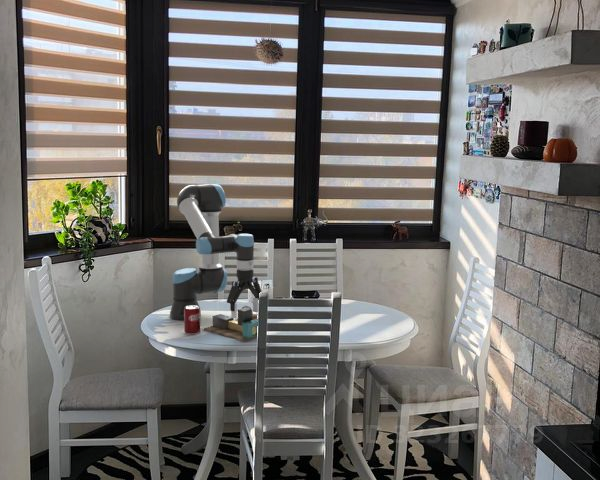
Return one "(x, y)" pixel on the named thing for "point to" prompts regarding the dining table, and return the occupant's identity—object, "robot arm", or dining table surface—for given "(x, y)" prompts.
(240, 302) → the dining table surface
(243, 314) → the square head mallet
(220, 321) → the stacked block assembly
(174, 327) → the dining table surface
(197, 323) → the soda can
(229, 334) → the base board
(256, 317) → the pipe
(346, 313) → the dining table surface
